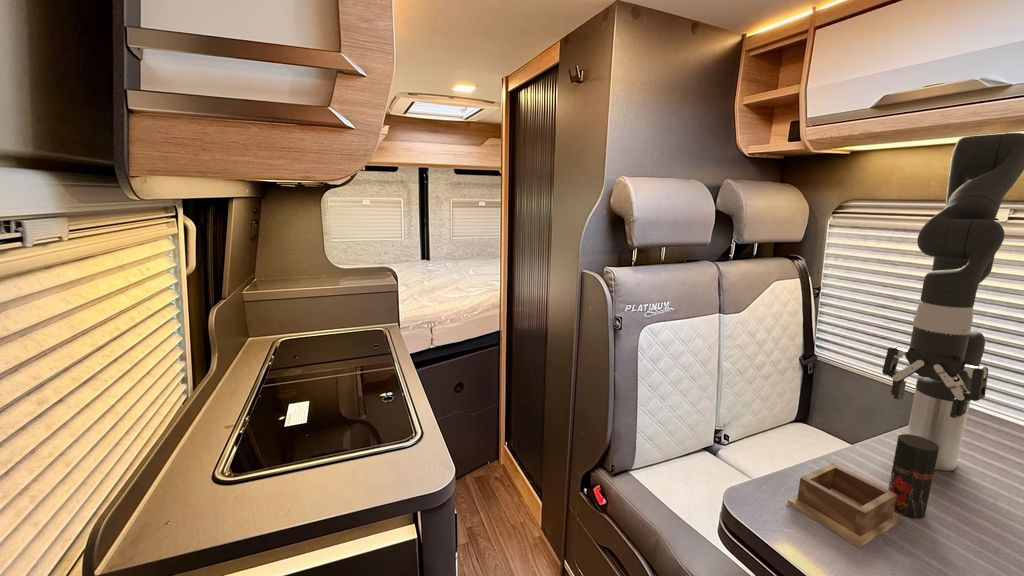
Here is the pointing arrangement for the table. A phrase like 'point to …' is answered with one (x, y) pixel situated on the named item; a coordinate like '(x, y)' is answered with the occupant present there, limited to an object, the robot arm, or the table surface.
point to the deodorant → (913, 474)
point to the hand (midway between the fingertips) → (925, 407)
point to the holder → (846, 504)
